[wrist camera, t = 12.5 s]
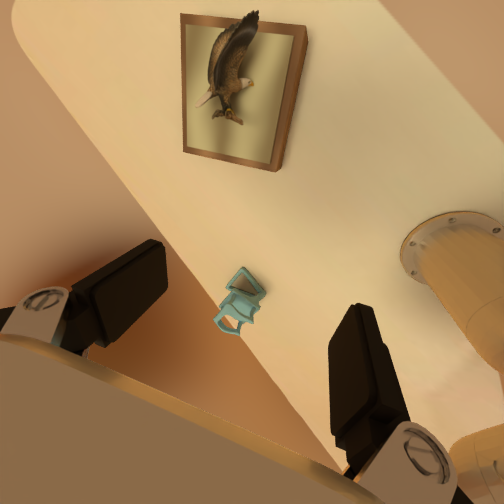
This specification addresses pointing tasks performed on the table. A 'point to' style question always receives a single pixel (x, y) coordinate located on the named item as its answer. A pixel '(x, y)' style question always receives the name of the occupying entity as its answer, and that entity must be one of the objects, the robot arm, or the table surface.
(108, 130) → the table surface
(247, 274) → the chair
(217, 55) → the eagle figurine
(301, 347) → the table surface
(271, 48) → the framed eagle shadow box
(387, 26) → the table surface
